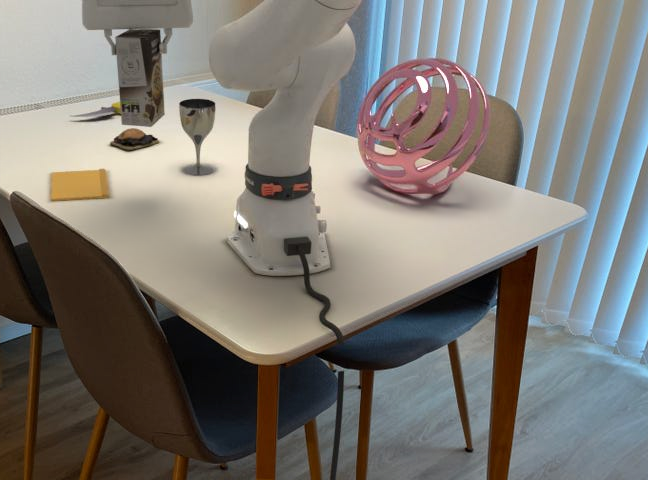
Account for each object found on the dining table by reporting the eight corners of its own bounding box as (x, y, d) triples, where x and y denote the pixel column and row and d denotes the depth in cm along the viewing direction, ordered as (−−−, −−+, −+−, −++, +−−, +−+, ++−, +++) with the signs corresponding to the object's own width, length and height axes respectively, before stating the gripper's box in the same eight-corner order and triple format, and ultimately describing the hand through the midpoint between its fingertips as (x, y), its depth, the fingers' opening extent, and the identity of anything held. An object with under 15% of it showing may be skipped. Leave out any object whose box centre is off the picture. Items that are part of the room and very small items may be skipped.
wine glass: (173, 169, 177) (171, 103, 169) (198, 161, 182) (197, 96, 174) (198, 178, 173) (197, 110, 165) (222, 169, 178) (222, 103, 169)
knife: (79, 126, 204) (159, 111, 217) (78, 116, 203) (158, 101, 216) (65, 119, 209) (144, 104, 222) (64, 109, 208) (143, 95, 221)
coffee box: (153, 127, 147) (147, 37, 139) (120, 125, 148) (113, 36, 140) (166, 114, 155) (161, 28, 146) (135, 113, 156) (129, 27, 147)
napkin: (109, 197, 163) (108, 194, 162) (51, 201, 161) (50, 197, 160) (105, 171, 176) (105, 168, 175) (52, 174, 174) (51, 171, 173)
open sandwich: (128, 153, 187) (127, 137, 185) (107, 144, 192) (106, 129, 190) (162, 143, 193) (161, 128, 191) (140, 135, 198) (139, 121, 196)
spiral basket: (455, 72, 177) (397, 10, 157) (540, 133, 161) (488, 73, 141) (374, 169, 187) (310, 123, 166) (446, 237, 171) (385, 194, 150)
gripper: (76, -25, 133) (84, 59, 141) (193, -27, 137) (195, 56, 144) (75, -30, 138) (83, 52, 146) (188, -31, 142) (190, 48, 149)
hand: (139, 54), depth 145 cm, fingers closed on coffee box, 7 cm apart
